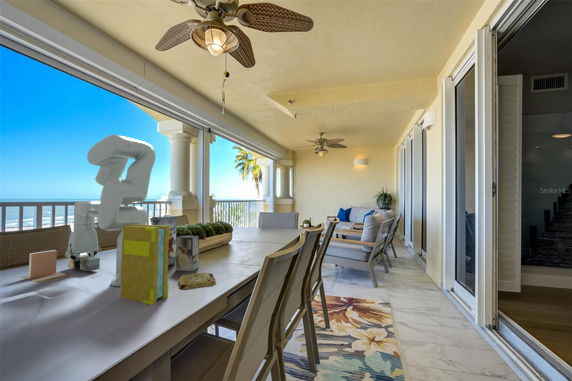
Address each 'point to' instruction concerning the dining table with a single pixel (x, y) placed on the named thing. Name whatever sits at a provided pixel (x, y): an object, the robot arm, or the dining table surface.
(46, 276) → the board
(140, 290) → the book
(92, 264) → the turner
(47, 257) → the tile
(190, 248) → the coffee box
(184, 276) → the pastry
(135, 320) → the dining table surface
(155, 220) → the juice carton
